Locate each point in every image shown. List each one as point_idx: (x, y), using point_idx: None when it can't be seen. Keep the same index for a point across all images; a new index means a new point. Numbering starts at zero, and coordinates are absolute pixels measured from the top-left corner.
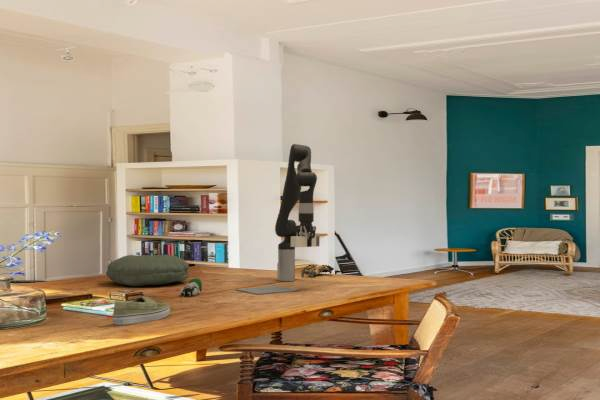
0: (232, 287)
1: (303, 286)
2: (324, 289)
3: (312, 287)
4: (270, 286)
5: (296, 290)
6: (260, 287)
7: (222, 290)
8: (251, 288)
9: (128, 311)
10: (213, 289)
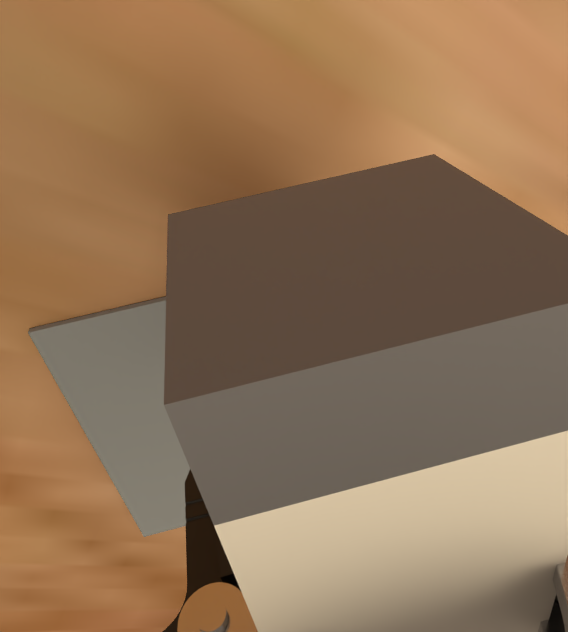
0: (7, 534)
1: (39, 110)
2: (321, 19)
3: (141, 59)
4: (58, 374)
5: None
6: (100, 433)
7: (130, 571)
8: (135, 477)
9: None
10: (78, 596)
